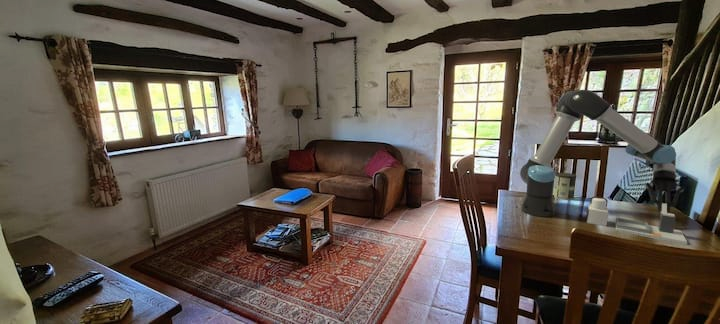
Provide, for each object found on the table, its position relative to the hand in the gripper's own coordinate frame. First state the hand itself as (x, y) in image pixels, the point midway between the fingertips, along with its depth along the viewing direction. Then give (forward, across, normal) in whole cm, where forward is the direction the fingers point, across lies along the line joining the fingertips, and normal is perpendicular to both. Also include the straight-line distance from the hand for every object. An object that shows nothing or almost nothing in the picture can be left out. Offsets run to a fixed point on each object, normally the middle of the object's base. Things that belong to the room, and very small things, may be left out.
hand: (663, 217), depth 131 cm
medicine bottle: (+10, +23, +4) cm, 25 cm away
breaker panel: (+11, +6, +4) cm, 13 cm away
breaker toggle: (+9, 0, +4) cm, 9 cm away
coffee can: (-15, +39, -22) cm, 47 cm away
